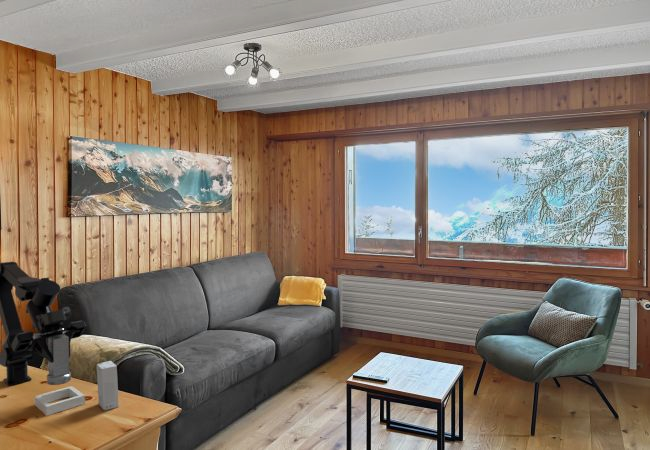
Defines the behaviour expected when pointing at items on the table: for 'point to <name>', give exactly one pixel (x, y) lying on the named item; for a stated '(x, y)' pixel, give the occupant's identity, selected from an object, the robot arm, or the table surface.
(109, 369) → the skincare box
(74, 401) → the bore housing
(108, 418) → the table surface
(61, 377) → the end cover
